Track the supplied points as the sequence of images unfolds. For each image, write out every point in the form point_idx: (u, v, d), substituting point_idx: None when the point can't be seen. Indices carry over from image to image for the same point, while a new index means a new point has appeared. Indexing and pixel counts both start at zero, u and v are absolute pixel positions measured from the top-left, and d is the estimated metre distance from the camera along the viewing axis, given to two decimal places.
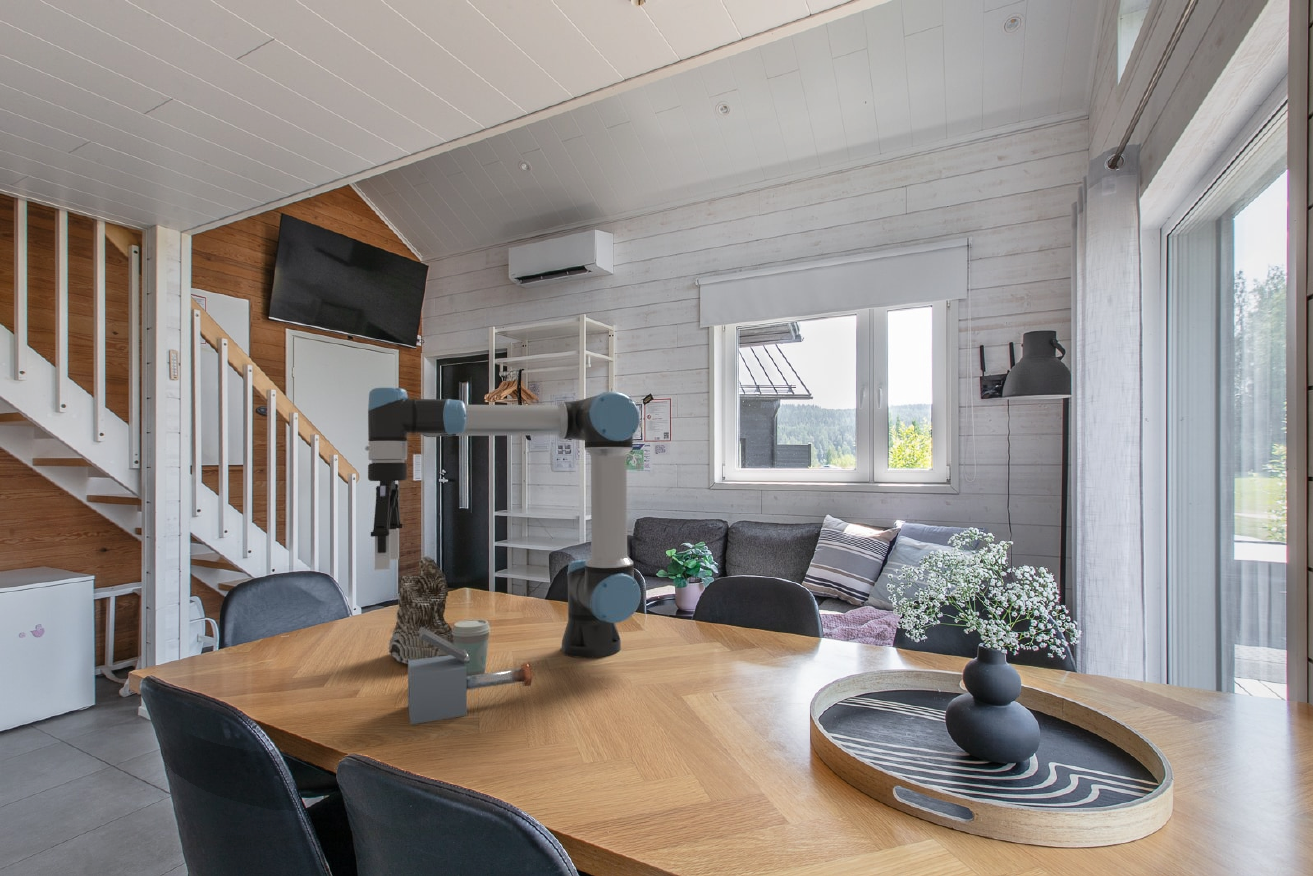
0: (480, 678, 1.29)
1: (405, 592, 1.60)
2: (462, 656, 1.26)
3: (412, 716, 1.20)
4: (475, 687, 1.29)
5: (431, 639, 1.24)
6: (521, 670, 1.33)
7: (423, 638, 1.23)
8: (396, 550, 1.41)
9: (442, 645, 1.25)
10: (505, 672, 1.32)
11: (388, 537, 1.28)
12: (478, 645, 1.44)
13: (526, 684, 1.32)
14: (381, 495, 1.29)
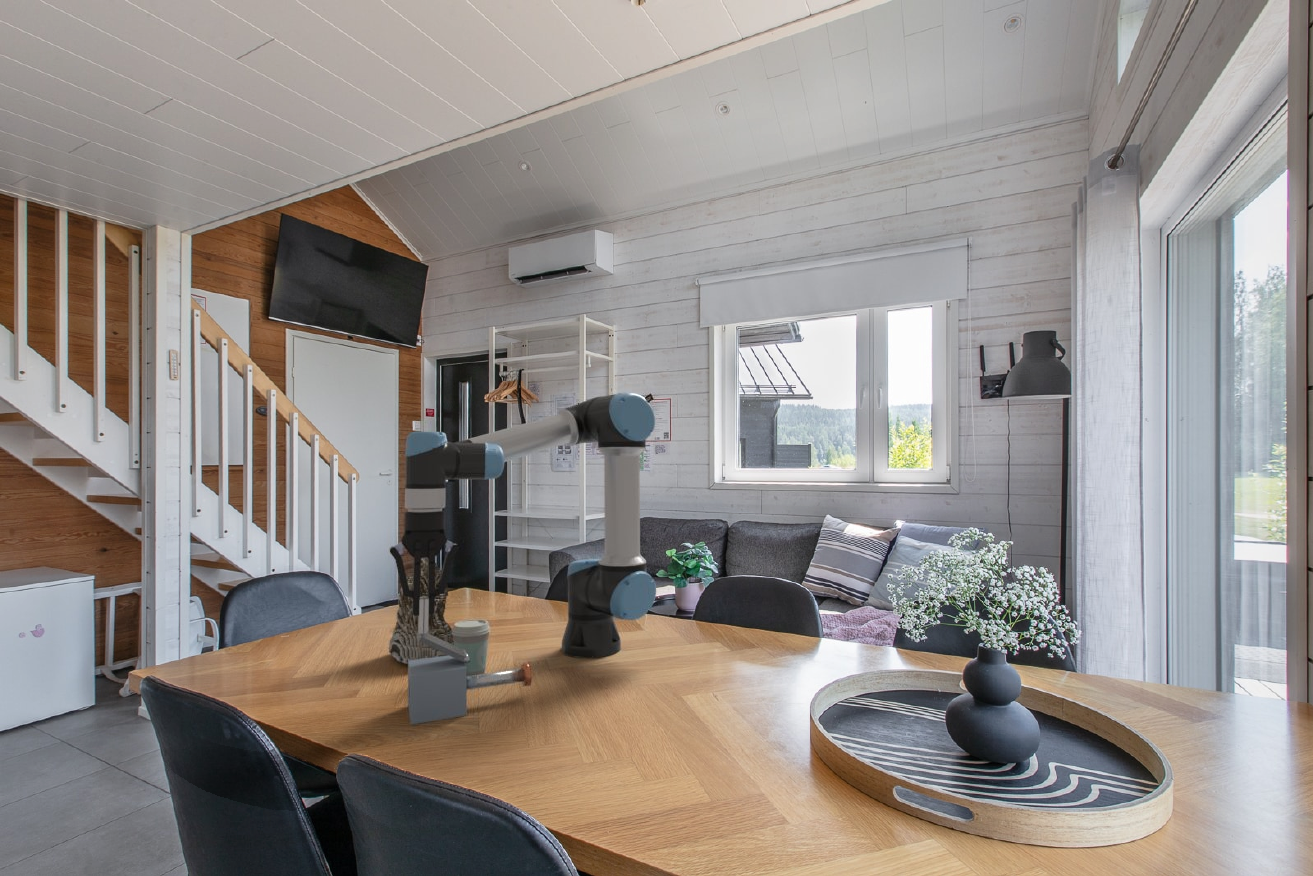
0: (480, 678, 1.29)
1: None
2: (462, 656, 1.26)
3: (412, 716, 1.20)
4: (475, 687, 1.29)
5: (429, 641, 1.24)
6: (521, 670, 1.33)
7: (421, 641, 1.23)
8: (424, 622, 1.25)
9: (441, 647, 1.25)
10: (505, 672, 1.32)
11: (419, 601, 1.25)
12: (478, 645, 1.44)
13: (526, 684, 1.32)
14: None
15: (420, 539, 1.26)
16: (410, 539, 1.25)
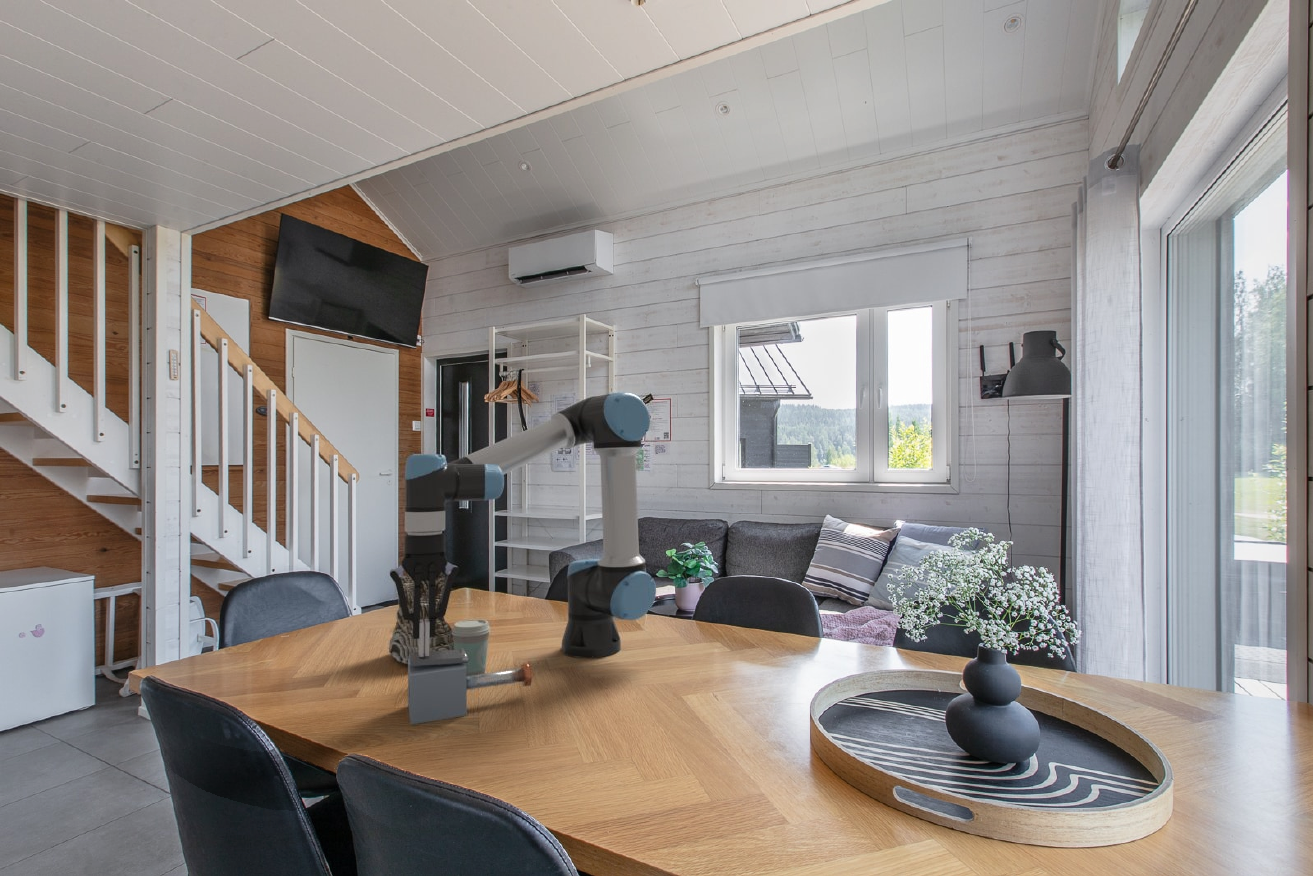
0: (480, 678, 1.29)
1: (405, 592, 1.60)
2: (459, 659, 1.26)
3: (412, 716, 1.20)
4: (475, 687, 1.29)
5: (421, 661, 1.23)
6: (521, 670, 1.33)
7: (413, 664, 1.22)
8: (425, 646, 1.25)
9: (434, 660, 1.24)
10: (505, 672, 1.32)
11: (419, 624, 1.25)
12: (478, 645, 1.44)
13: (526, 684, 1.32)
14: None
15: (420, 562, 1.25)
16: (410, 562, 1.25)
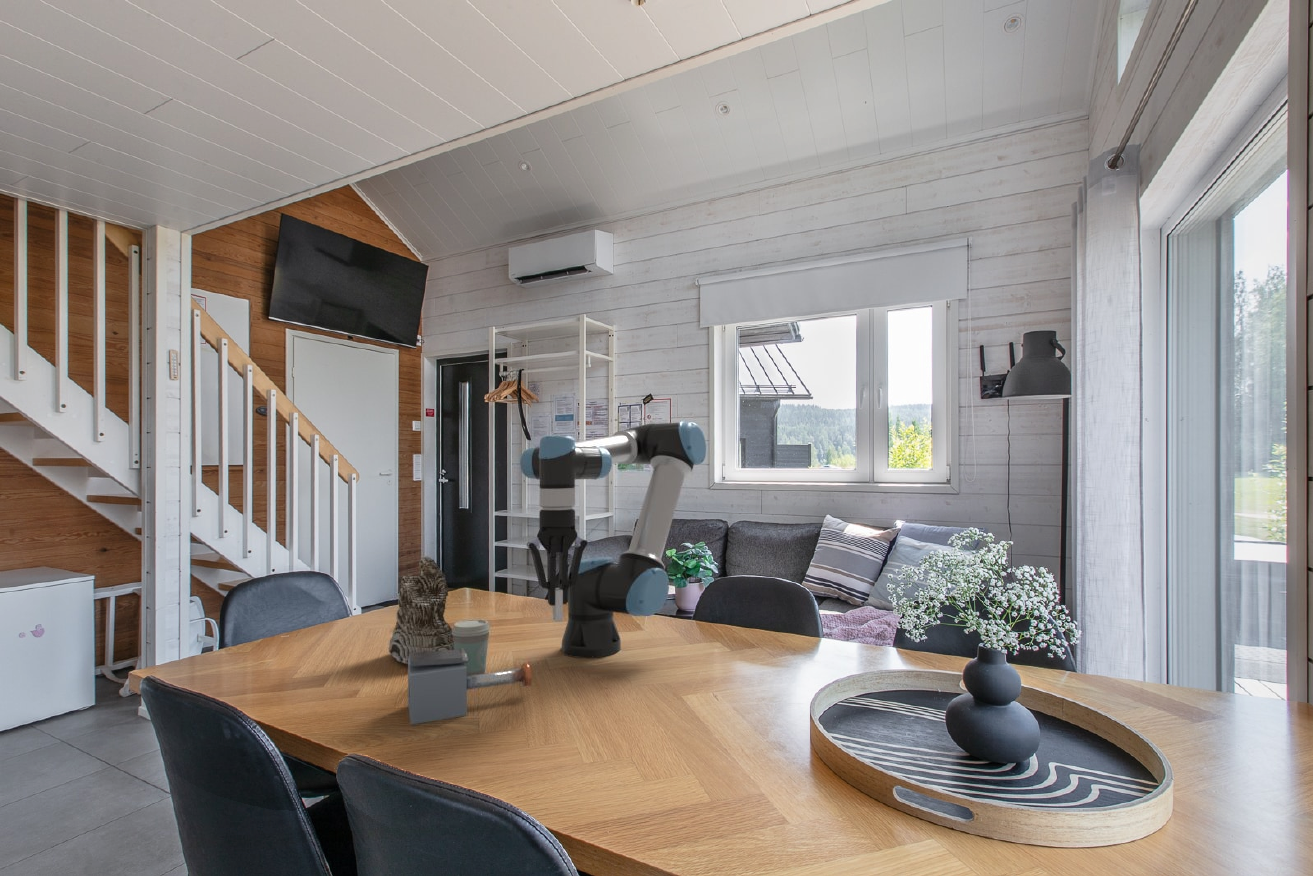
0: (480, 678, 1.29)
1: (405, 592, 1.60)
2: (459, 659, 1.26)
3: (412, 716, 1.20)
4: (475, 687, 1.29)
5: (421, 661, 1.23)
6: (521, 670, 1.33)
7: (413, 664, 1.22)
8: None
9: (434, 660, 1.24)
10: (505, 672, 1.32)
11: (555, 591, 1.36)
12: (478, 645, 1.44)
13: (526, 684, 1.32)
14: (532, 551, 1.35)
15: (554, 535, 1.36)
16: (546, 535, 1.35)
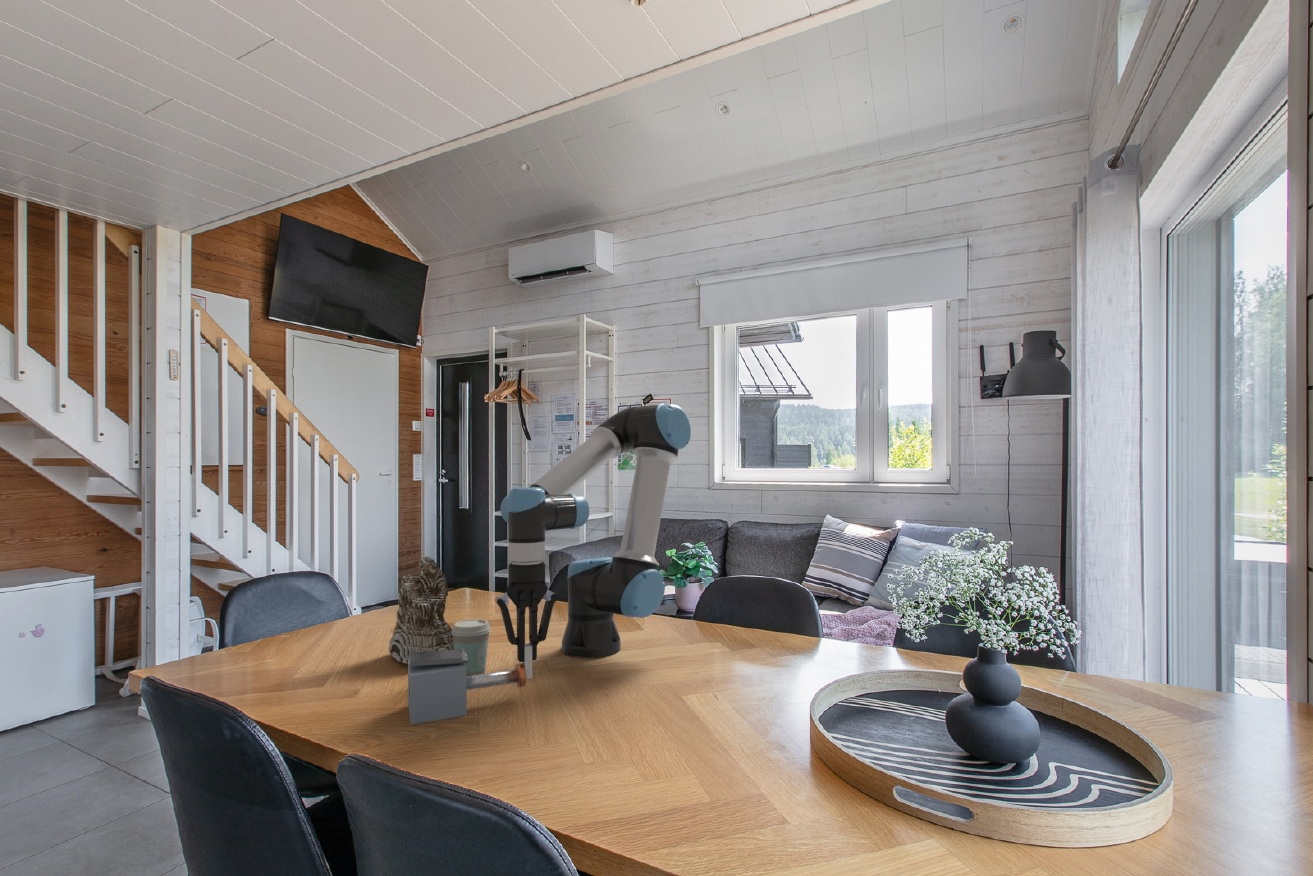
0: (473, 678, 1.29)
1: (405, 592, 1.60)
2: (459, 659, 1.26)
3: (412, 716, 1.20)
4: (469, 688, 1.28)
5: (421, 661, 1.23)
6: (515, 671, 1.32)
7: (413, 664, 1.22)
8: None
9: (434, 660, 1.24)
10: (499, 673, 1.31)
11: (524, 648, 1.33)
12: (478, 645, 1.44)
13: (520, 685, 1.32)
14: None
15: (524, 590, 1.33)
16: (515, 590, 1.32)
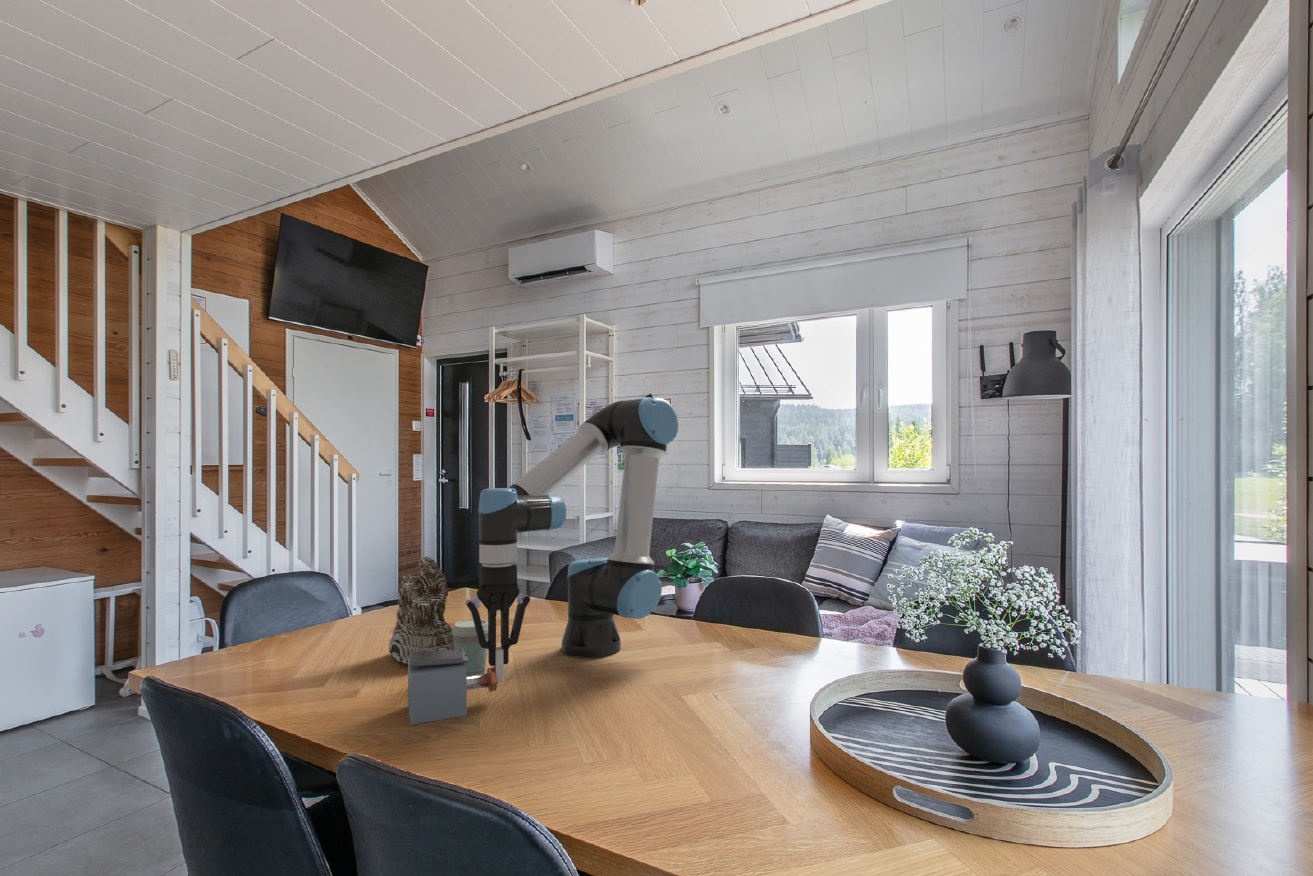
0: None
1: (405, 592, 1.60)
2: (459, 659, 1.26)
3: (412, 716, 1.20)
4: None
5: (421, 661, 1.23)
6: (486, 675, 1.30)
7: (413, 664, 1.22)
8: None
9: (434, 660, 1.24)
10: (469, 677, 1.29)
11: (495, 651, 1.30)
12: (478, 645, 1.44)
13: (491, 689, 1.29)
14: None
15: (495, 592, 1.31)
16: (485, 593, 1.30)
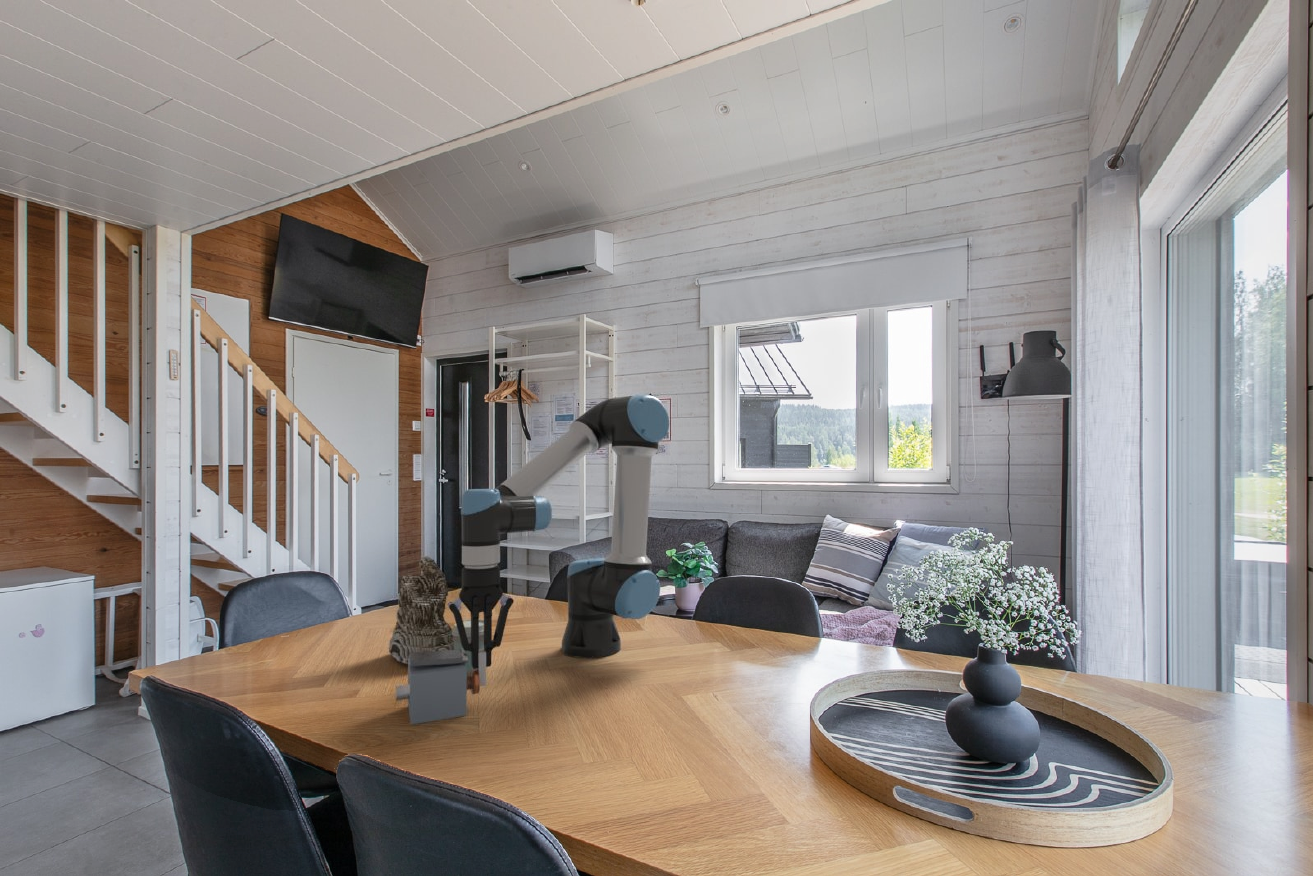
0: None
1: (405, 592, 1.60)
2: (459, 659, 1.26)
3: (412, 716, 1.20)
4: None
5: (421, 661, 1.23)
6: (469, 677, 1.29)
7: (413, 664, 1.22)
8: None
9: (434, 660, 1.24)
10: None
11: (478, 654, 1.29)
12: None
13: (474, 692, 1.28)
14: None
15: (477, 594, 1.29)
16: (468, 595, 1.29)
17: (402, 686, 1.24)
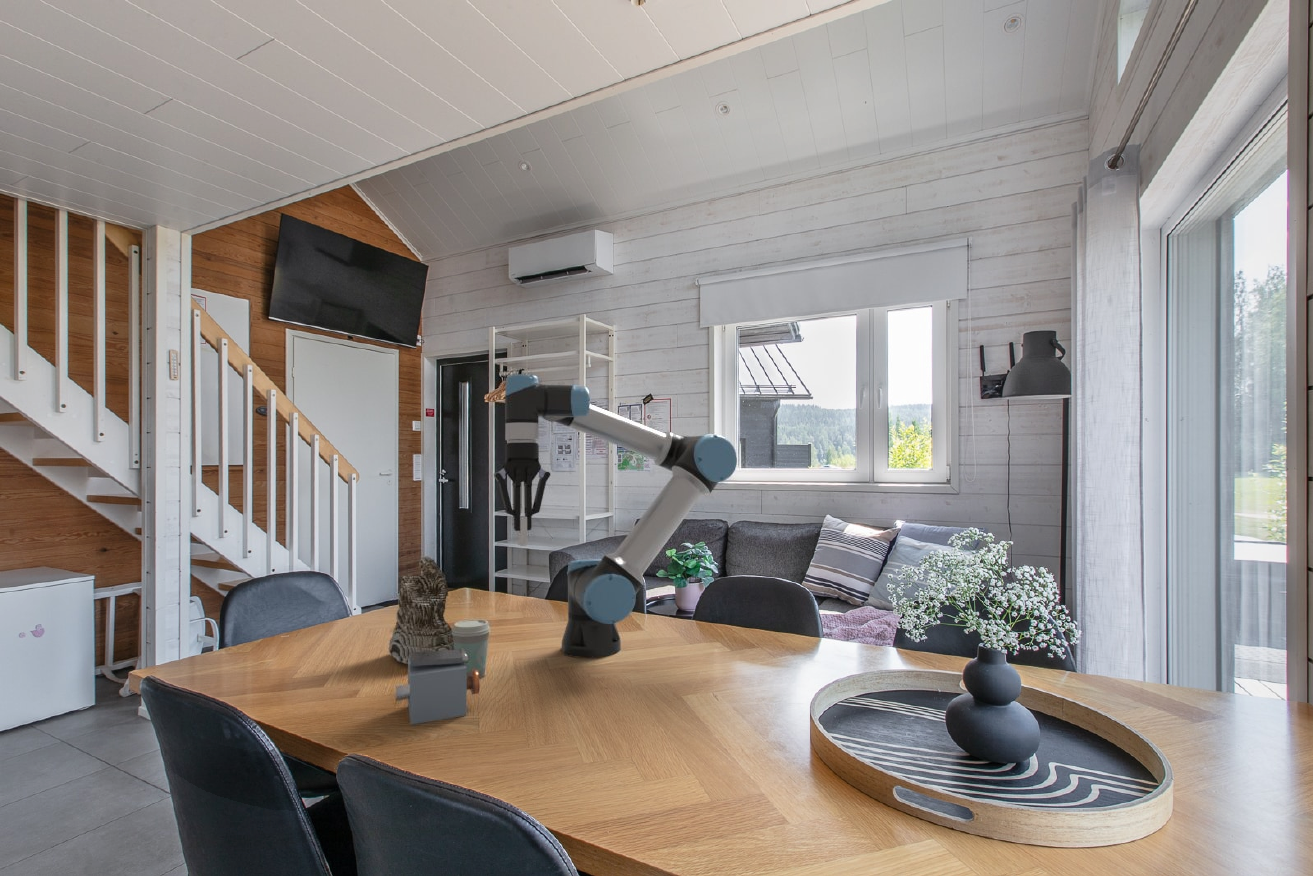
0: None
1: (405, 592, 1.60)
2: (459, 659, 1.26)
3: (412, 716, 1.20)
4: None
5: (421, 661, 1.23)
6: (469, 677, 1.29)
7: (413, 664, 1.22)
8: None
9: (434, 660, 1.24)
10: None
11: (520, 518, 1.47)
12: (478, 645, 1.44)
13: (474, 692, 1.28)
14: (498, 481, 1.47)
15: (519, 466, 1.48)
16: (511, 466, 1.47)
17: (402, 686, 1.24)
